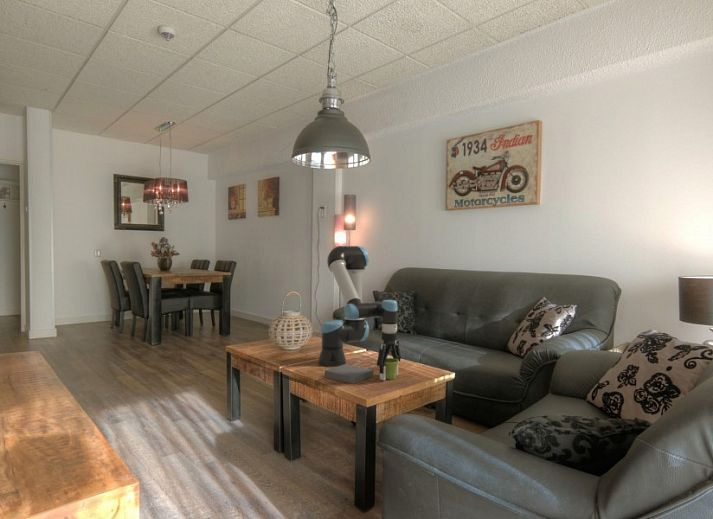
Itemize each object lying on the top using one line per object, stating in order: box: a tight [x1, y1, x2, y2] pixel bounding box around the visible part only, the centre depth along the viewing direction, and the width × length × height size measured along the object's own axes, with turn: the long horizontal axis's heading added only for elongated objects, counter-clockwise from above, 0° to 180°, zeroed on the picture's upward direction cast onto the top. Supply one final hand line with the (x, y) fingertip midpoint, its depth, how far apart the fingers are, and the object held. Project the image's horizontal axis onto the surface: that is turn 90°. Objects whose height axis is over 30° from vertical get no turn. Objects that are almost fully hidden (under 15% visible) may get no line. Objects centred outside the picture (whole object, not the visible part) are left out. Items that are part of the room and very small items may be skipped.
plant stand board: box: [324, 363, 374, 384], centre depth 210 cm, size 18×16×3 cm
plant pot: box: [385, 357, 399, 381], centre depth 207 cm, size 9×9×9 cm
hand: (389, 377), depth 207 cm, fingers open, 11 cm apart
